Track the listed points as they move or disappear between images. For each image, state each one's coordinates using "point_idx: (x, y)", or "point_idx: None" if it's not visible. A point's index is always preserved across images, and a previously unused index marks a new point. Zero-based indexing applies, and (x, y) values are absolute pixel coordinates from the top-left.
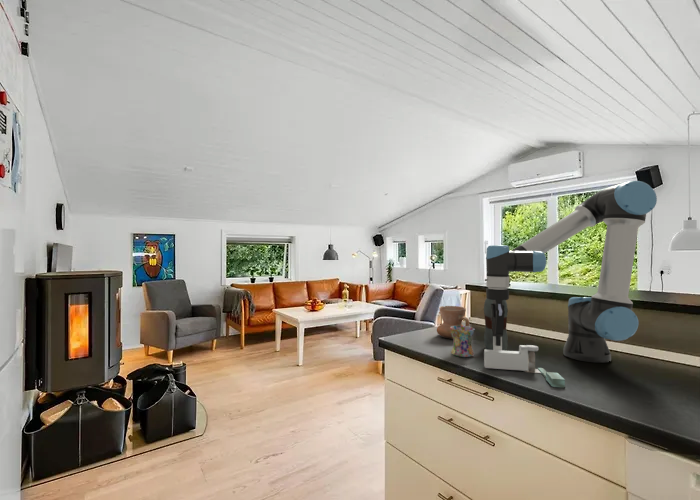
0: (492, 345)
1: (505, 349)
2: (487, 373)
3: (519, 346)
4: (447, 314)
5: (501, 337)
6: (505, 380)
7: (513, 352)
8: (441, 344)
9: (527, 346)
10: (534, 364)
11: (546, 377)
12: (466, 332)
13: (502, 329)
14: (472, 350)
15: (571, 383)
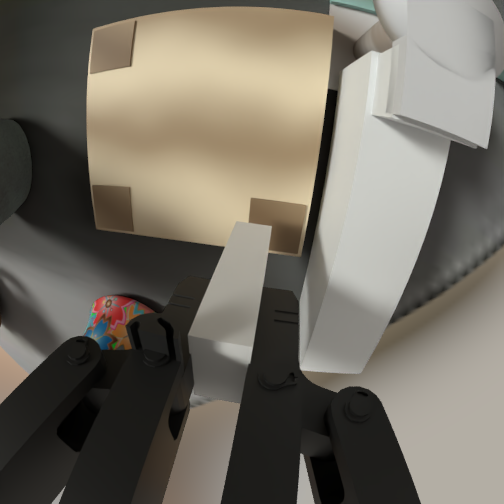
0: (13, 195)
1: (13, 125)
2: (399, 305)
3: (398, 116)
4: None
5: (252, 340)
6: (479, 260)
7: (406, 192)
8: (50, 339)
9: (463, 56)
10: None
11: (501, 75)
12: None
13: (407, 486)
14: (121, 315)
15: (498, 2)
